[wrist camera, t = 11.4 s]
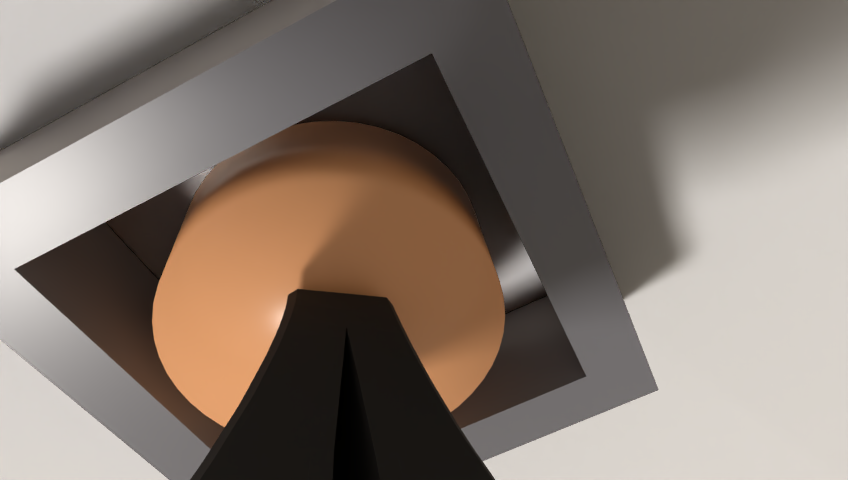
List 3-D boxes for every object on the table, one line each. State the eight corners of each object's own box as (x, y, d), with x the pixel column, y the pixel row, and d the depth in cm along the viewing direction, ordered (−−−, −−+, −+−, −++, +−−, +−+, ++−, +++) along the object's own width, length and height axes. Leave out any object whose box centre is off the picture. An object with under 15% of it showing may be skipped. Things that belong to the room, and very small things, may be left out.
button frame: (267, 457, 14) (257, 552, 12) (-28, 166, 10) (-115, 244, 8) (611, 308, 13) (658, 390, 11) (447, -97, 8) (477, -76, 7)
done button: (288, 401, 13) (280, 489, 11) (114, 210, 10) (69, 287, 8) (520, 299, 12) (551, 376, 10) (399, 62, 9) (412, 114, 8)
